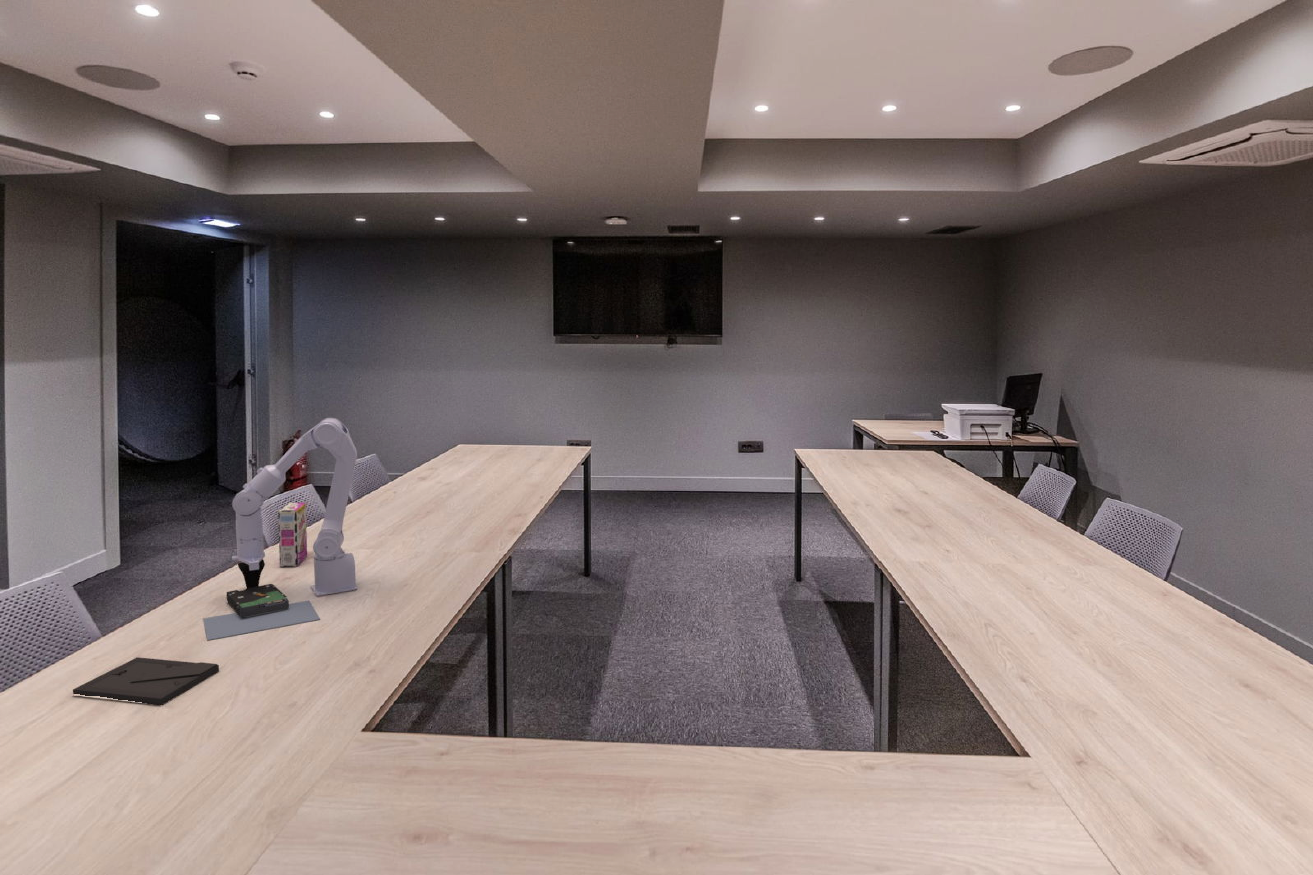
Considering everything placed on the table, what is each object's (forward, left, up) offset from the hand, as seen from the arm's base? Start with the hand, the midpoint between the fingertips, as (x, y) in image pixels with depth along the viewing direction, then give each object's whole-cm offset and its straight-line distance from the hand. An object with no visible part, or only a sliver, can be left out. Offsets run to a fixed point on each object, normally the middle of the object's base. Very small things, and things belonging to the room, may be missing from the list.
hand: (252, 590), depth 176 cm
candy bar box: (-13, -25, -2) cm, 28 cm away
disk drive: (0, +8, -2) cm, 9 cm away
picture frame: (+21, +41, -2) cm, 46 cm away
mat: (0, +18, -1) cm, 18 cm away
